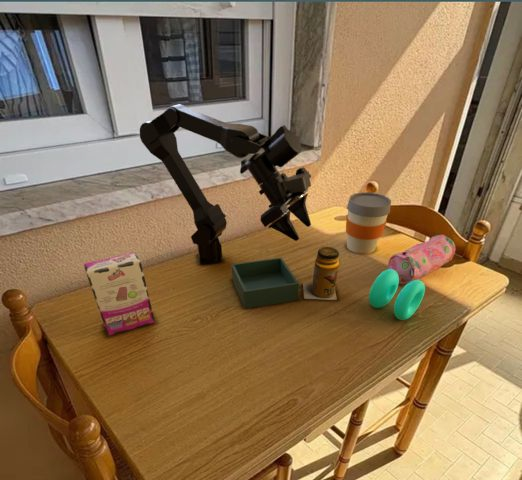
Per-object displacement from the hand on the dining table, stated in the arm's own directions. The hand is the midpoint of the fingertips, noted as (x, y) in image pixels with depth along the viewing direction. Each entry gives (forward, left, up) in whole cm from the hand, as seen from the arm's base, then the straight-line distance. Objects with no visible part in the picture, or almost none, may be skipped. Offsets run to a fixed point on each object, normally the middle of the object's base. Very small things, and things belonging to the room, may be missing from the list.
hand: (303, 232), depth 97 cm
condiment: (+3, -7, -14) cm, 16 cm away
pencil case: (+34, -5, -14) cm, 37 cm away
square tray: (-11, -2, -14) cm, 18 cm away
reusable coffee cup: (+26, +14, -14) cm, 32 cm away
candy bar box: (-46, -8, -14) cm, 49 cm away
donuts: (+17, -20, -14) cm, 30 cm away
